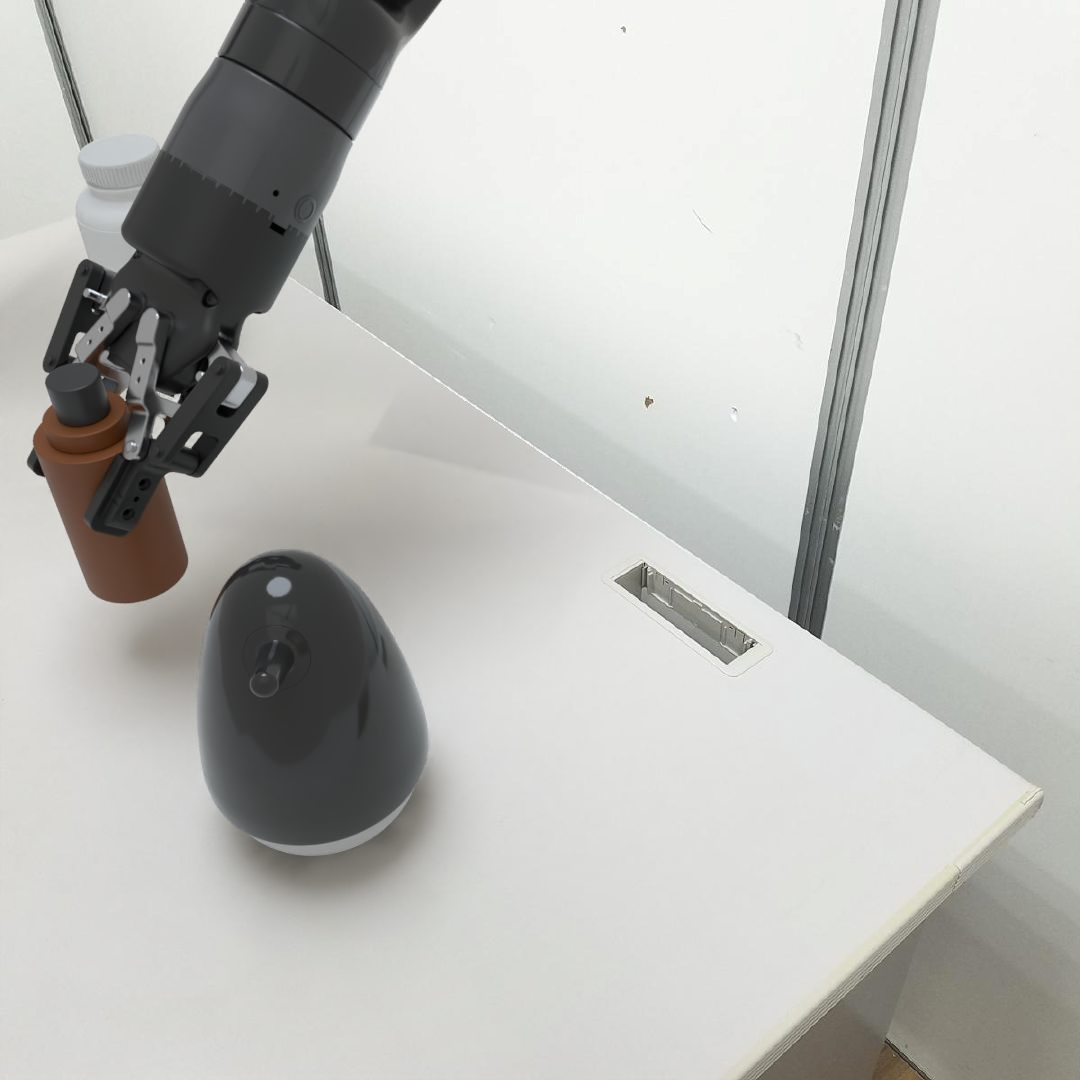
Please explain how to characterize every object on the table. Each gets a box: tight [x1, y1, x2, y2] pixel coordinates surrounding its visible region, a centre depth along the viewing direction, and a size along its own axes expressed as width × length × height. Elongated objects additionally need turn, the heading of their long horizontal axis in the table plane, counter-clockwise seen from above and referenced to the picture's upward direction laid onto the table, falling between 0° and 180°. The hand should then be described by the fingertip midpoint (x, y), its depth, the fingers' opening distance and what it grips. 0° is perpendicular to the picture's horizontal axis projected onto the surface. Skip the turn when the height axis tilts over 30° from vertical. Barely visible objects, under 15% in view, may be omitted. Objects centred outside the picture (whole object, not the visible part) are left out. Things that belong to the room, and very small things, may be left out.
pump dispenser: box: [196, 548, 430, 857], centre depth 50 cm, size 10×10×15 cm
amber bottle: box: [32, 363, 189, 605], centre depth 56 cm, size 5×5×12 cm
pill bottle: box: [75, 133, 161, 272], centre depth 81 cm, size 8×8×15 cm
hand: (75, 501), depth 55 cm, fingers closed on amber bottle, 5 cm apart
